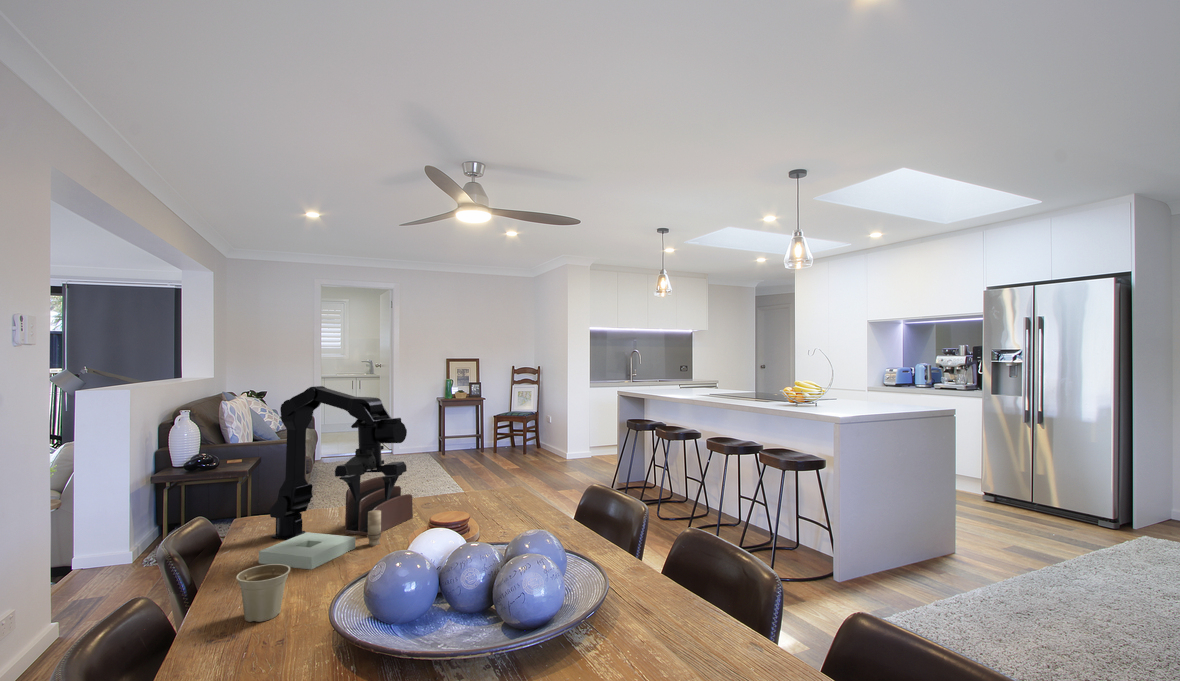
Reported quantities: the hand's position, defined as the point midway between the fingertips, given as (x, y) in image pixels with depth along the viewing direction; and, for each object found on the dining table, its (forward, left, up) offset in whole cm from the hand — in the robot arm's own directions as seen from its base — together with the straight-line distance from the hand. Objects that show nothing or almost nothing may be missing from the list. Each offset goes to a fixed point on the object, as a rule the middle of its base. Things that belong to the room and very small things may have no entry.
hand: (371, 500), depth 154 cm
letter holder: (-10, +18, -13) cm, 24 cm away
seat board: (-11, -10, -12) cm, 20 cm away
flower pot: (+6, -41, -13) cm, 44 cm away
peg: (0, +2, -12) cm, 13 cm away
